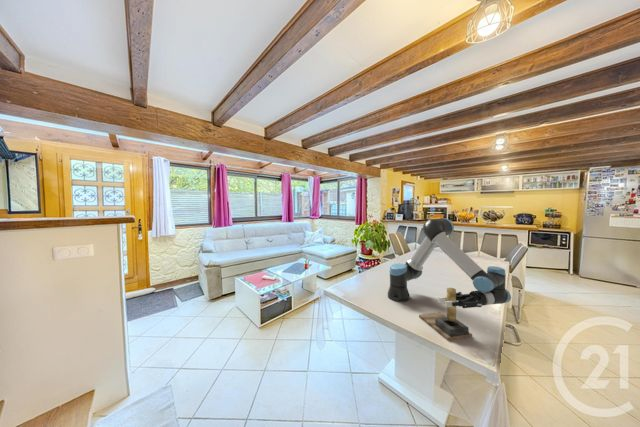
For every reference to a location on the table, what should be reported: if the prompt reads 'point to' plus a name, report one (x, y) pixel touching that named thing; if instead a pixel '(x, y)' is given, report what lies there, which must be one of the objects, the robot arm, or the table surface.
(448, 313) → the peg
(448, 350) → the table surface
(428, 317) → the board
